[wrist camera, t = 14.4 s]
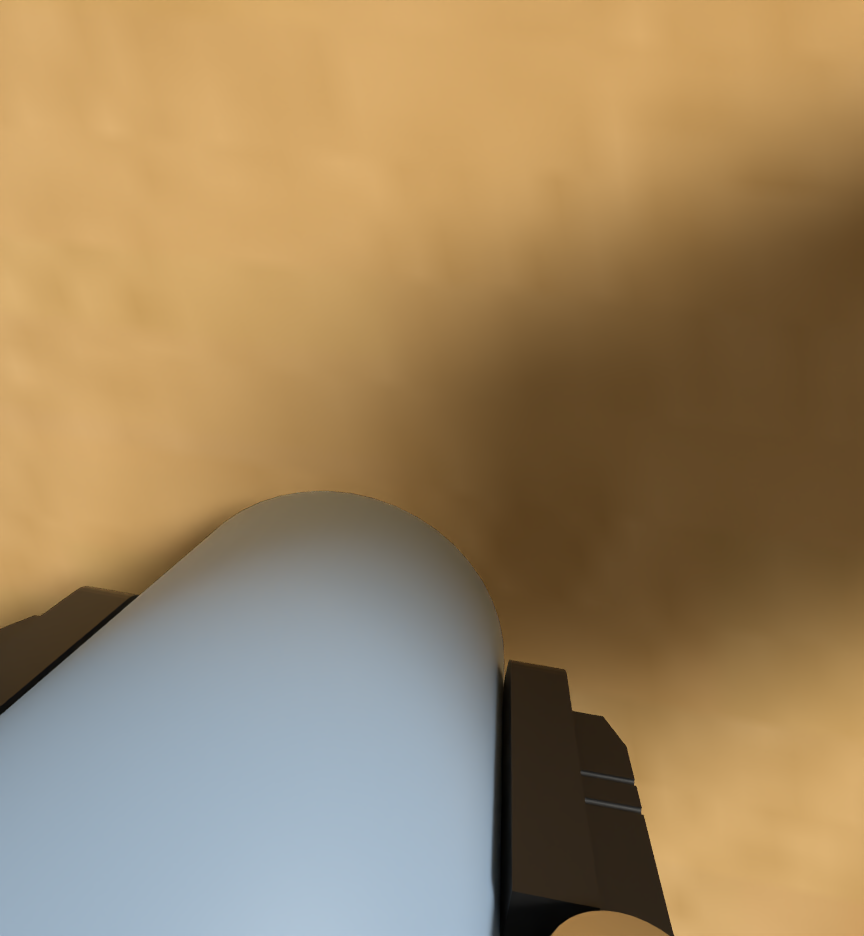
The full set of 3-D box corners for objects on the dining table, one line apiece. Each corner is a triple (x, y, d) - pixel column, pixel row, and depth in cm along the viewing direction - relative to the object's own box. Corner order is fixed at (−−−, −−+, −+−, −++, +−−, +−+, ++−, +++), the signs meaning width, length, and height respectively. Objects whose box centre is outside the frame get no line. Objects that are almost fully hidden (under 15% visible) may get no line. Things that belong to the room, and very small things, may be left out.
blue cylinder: (531, 521, 9) (587, 1148, 3) (477, 821, 11) (423, 1733, 4) (175, 465, 10) (-581, 895, 3) (168, 762, 11) (-360, 1515, 4)
